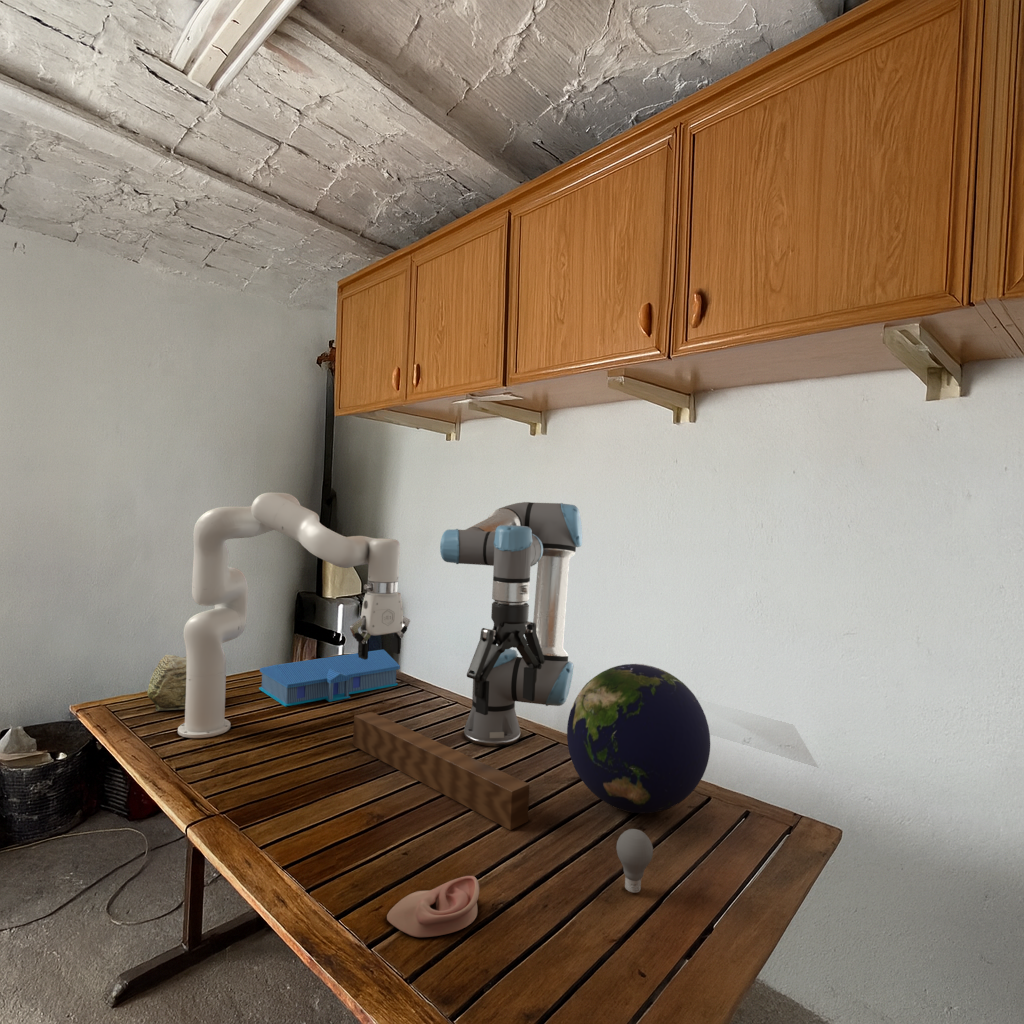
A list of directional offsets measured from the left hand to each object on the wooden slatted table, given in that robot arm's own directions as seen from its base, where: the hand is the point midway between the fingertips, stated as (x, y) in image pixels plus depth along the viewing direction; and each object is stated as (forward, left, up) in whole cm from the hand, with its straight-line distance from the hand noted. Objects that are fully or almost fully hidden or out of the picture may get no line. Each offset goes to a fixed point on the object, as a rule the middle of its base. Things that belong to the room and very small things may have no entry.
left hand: (379, 655), depth 159 cm
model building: (-54, +7, -24) cm, 59 cm away
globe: (+54, +37, -24) cm, 69 cm away
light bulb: (+75, +15, -24) cm, 80 cm away
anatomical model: (+64, -16, -24) cm, 70 cm away
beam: (+21, +4, -24) cm, 32 cm away
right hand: (+44, +9, -1) cm, 45 cm away
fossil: (-56, -37, -24) cm, 71 cm away
